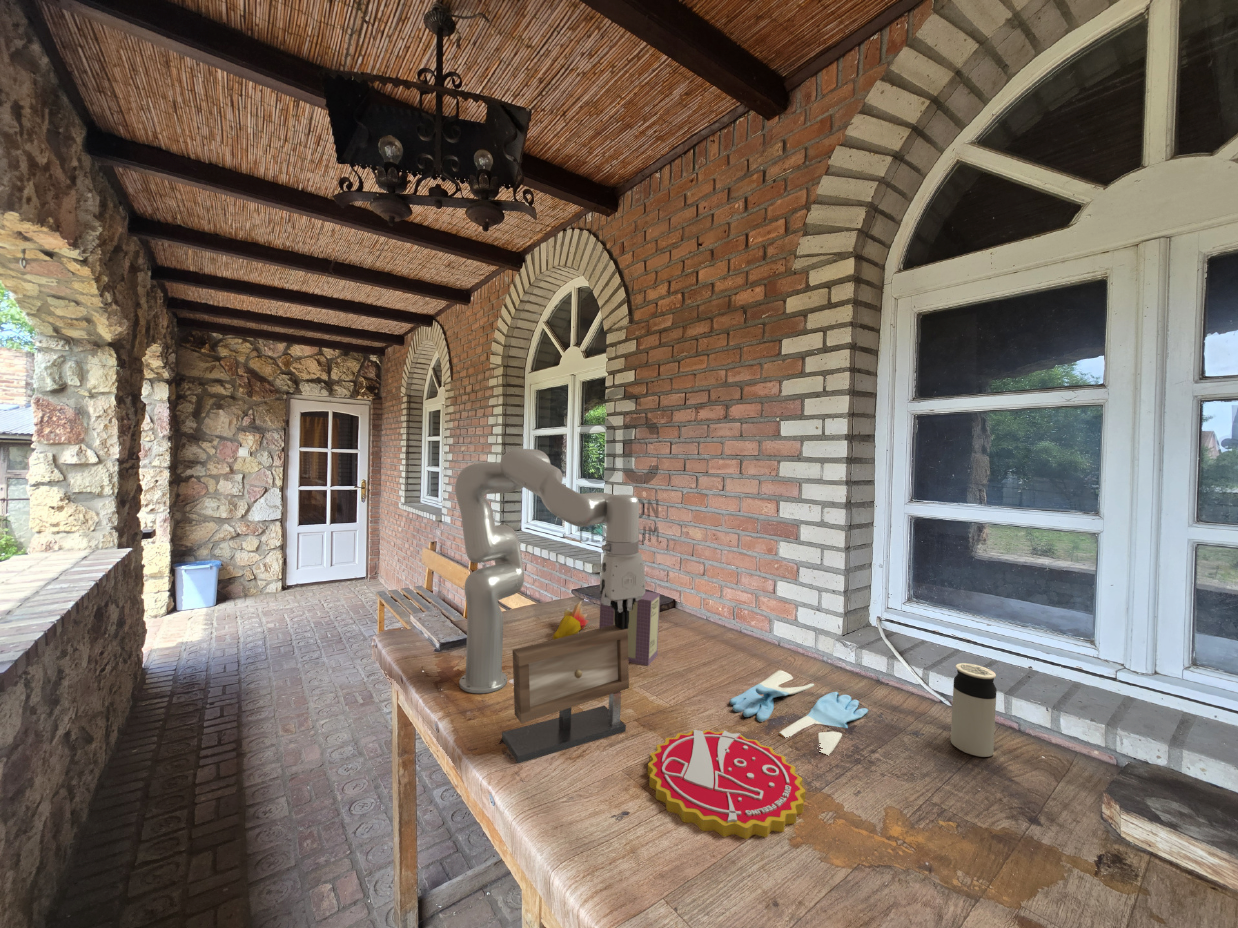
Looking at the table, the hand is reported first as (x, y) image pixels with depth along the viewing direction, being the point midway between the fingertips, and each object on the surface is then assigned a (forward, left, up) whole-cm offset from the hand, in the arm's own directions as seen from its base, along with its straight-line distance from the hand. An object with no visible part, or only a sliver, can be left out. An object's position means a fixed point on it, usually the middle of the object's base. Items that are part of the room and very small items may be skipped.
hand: (621, 627), depth 116 cm
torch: (-59, +15, -24) cm, 66 cm away
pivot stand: (-3, -12, -24) cm, 27 cm away
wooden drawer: (0, -11, -15) cm, 19 cm away
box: (-35, +25, -24) cm, 50 cm away
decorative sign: (+26, +9, -25) cm, 37 cm away
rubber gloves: (+13, +47, -25) cm, 55 cm away
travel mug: (+44, +68, -24) cm, 84 cm away
